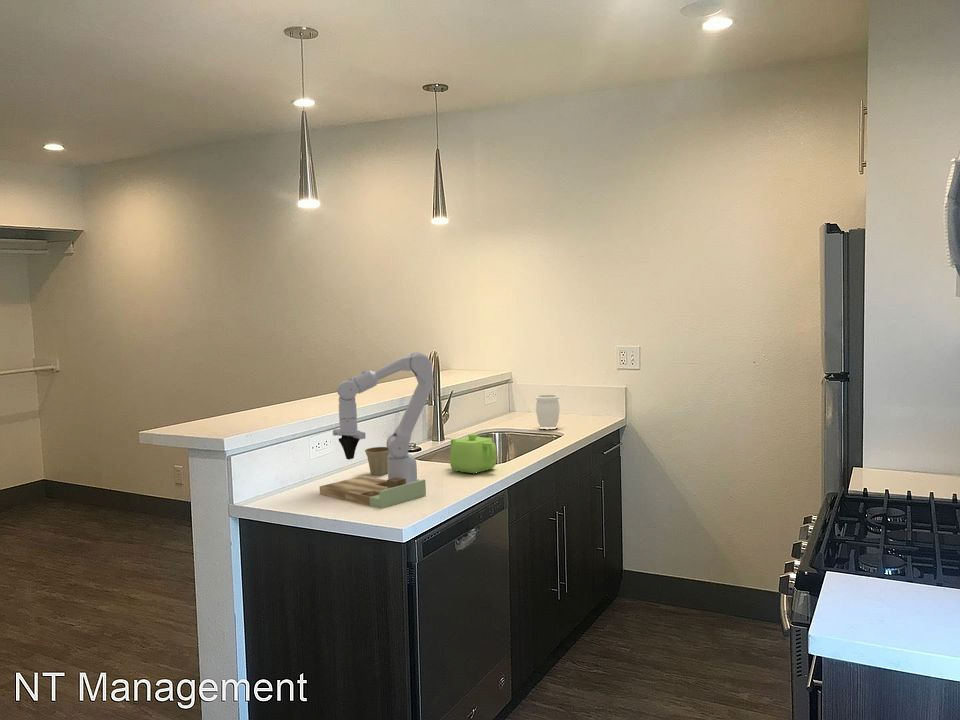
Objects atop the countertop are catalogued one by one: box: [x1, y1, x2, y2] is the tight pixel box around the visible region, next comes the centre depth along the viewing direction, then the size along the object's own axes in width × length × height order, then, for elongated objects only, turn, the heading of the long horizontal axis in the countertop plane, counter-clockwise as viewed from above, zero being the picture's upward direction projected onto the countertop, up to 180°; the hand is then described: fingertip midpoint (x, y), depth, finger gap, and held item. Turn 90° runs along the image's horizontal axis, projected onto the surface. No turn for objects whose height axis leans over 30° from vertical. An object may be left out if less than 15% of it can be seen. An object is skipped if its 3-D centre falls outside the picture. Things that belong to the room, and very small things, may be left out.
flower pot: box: [364, 446, 390, 476], centre depth 286 cm, size 9×9×9 cm
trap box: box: [319, 475, 427, 509], centre depth 255 cm, size 18×30×5 cm, turn 48°
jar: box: [535, 394, 560, 427], centre depth 367 cm, size 11×10×15 cm
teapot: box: [449, 433, 498, 474], centre depth 287 cm, size 18×20×13 cm
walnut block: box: [386, 477, 406, 489], centre depth 247 cm, size 4×4×4 cm
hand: (350, 458), depth 266 cm, fingers closed
